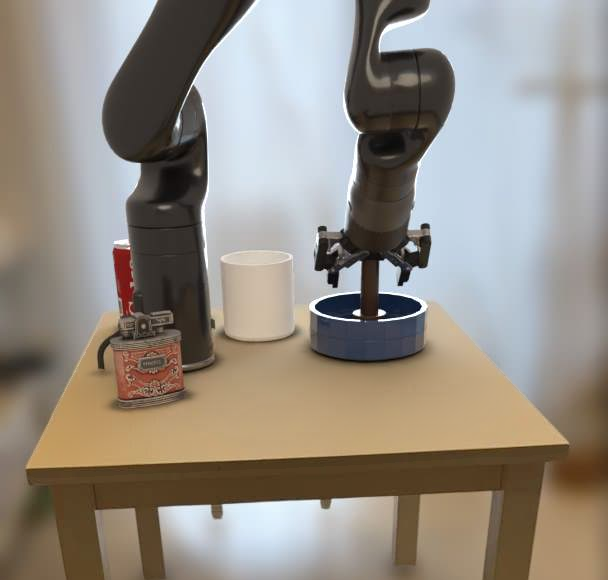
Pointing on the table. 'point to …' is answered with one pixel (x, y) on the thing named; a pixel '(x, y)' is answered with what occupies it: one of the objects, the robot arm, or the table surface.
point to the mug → (258, 295)
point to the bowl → (367, 327)
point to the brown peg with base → (369, 293)
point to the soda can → (123, 276)
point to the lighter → (148, 361)
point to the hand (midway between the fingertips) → (366, 281)
